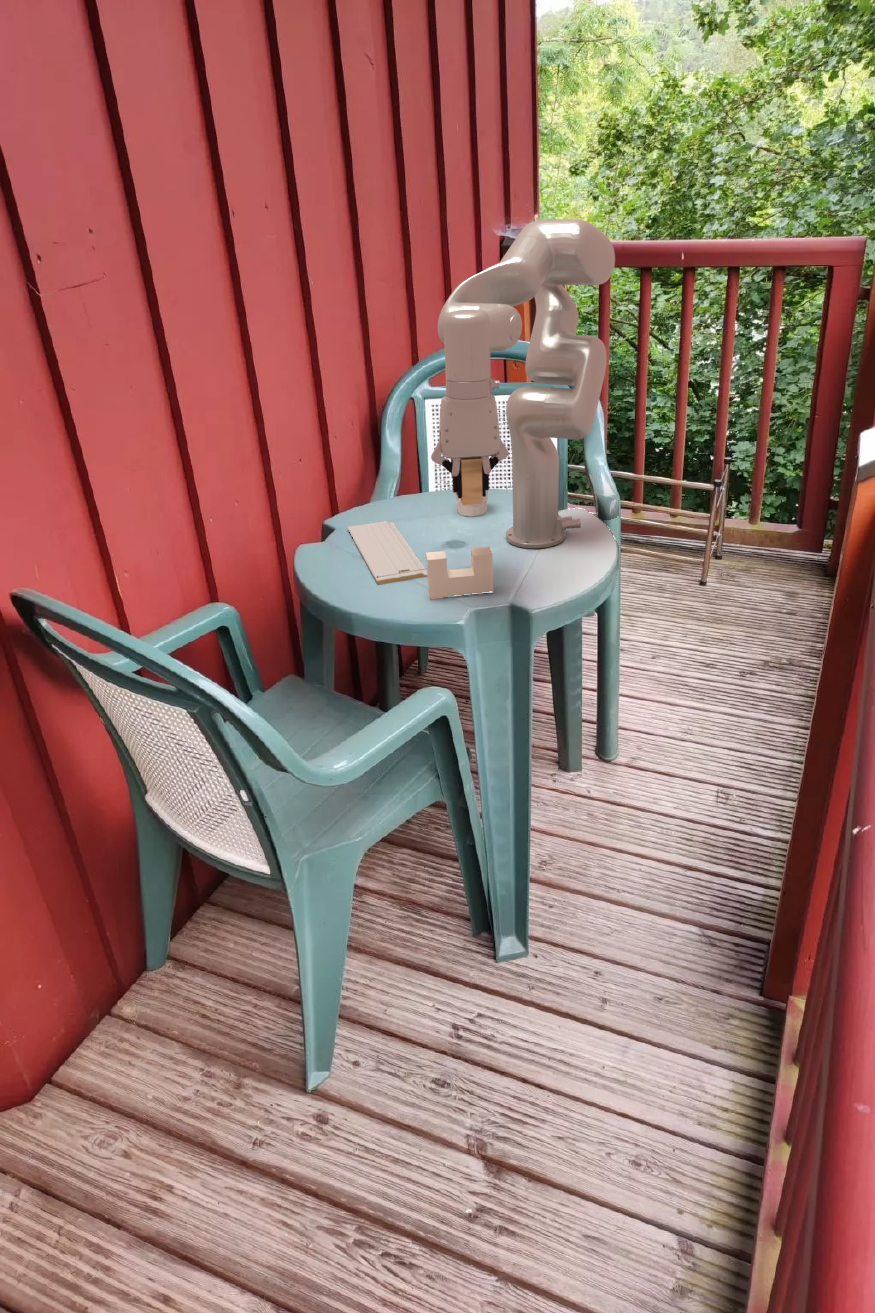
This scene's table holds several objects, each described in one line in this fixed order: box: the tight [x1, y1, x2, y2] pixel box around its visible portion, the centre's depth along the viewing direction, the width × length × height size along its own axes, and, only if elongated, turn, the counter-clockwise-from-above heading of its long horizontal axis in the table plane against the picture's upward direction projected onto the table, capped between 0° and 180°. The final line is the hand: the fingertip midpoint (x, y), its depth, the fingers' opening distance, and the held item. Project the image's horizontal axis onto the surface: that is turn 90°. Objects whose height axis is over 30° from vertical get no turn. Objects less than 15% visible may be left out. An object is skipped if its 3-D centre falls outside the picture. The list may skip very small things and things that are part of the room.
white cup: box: [455, 490, 489, 517], centre depth 205 cm, size 8×8×10 cm
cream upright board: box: [425, 546, 494, 600], centre depth 169 cm, size 12×4×8 cm, turn 96°
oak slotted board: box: [450, 457, 483, 505], centre depth 164 cm, size 18×4×8 cm, turn 6°
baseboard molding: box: [346, 520, 428, 585], centre depth 190 cm, size 31×3×12 cm
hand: (470, 494), depth 159 cm, fingers closed on oak slotted board, 3 cm apart
